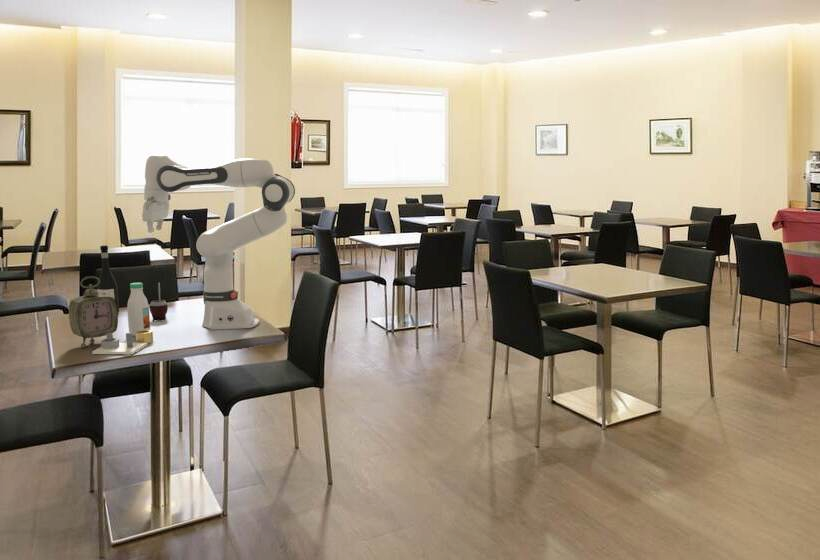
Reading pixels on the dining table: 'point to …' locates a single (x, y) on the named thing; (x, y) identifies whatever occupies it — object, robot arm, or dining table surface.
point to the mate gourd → (158, 308)
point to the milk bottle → (138, 309)
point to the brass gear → (144, 336)
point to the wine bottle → (107, 278)
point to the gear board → (118, 345)
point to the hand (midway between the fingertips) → (154, 231)
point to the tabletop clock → (92, 314)
